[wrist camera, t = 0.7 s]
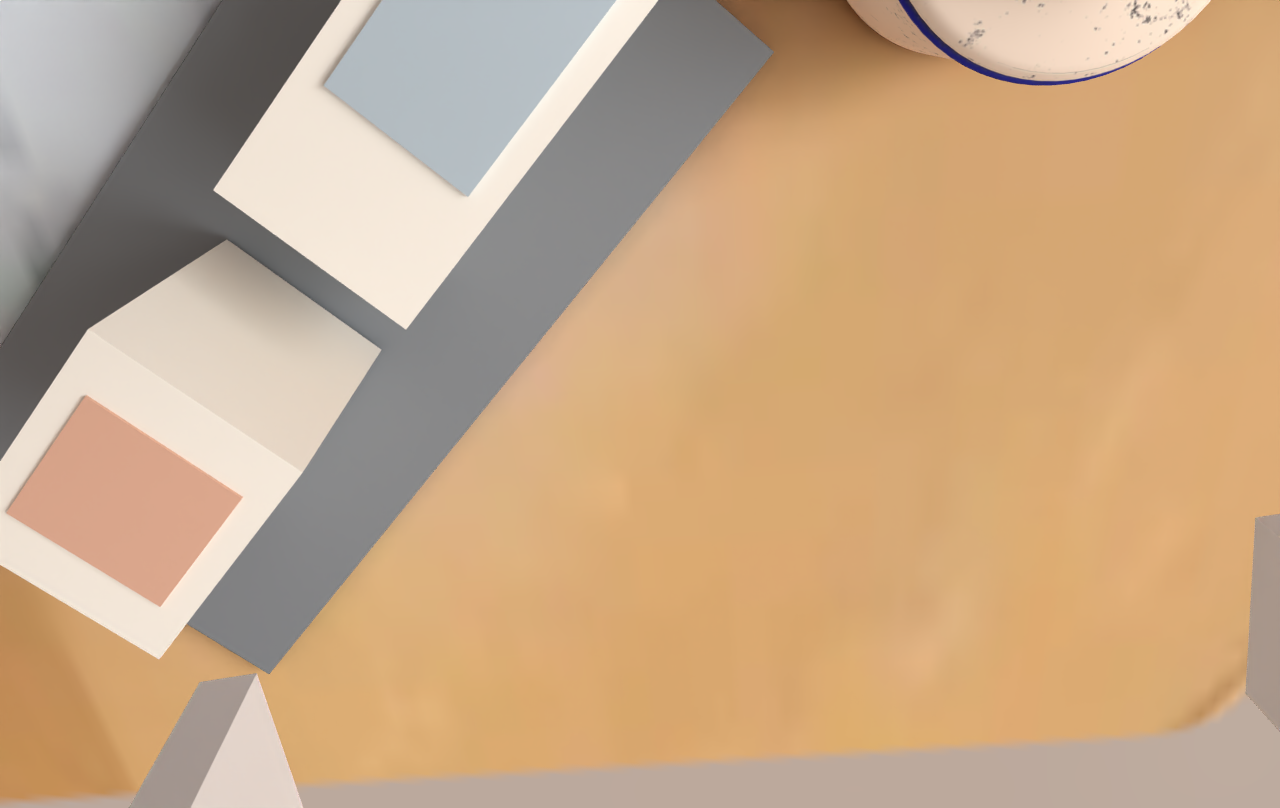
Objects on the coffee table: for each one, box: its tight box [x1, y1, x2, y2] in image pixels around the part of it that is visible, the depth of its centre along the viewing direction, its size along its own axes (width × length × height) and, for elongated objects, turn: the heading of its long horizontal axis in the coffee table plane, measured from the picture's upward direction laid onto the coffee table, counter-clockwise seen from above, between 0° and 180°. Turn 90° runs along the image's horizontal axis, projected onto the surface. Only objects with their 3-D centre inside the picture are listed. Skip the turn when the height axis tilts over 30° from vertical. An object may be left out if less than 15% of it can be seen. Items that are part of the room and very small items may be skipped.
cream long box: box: [214, 0, 658, 329], centre depth 30 cm, size 6×17×7 cm, turn 141°
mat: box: [0, 0, 774, 674], centre depth 36 cm, size 14×29×1 cm, turn 141°
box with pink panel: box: [0, 240, 381, 659], centre depth 32 cm, size 6×7×10 cm
